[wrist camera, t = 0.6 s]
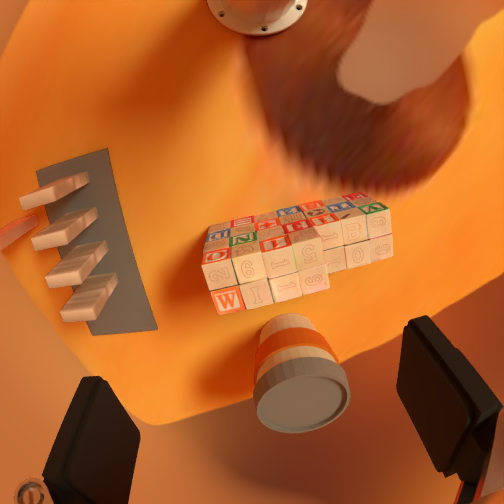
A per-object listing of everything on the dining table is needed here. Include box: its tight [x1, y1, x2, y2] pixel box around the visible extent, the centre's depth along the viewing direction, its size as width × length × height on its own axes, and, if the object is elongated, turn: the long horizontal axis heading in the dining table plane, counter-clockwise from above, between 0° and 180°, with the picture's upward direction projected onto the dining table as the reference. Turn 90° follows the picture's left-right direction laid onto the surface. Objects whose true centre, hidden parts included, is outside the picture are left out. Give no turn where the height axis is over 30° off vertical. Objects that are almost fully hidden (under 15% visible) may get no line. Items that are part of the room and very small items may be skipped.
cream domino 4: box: [60, 272, 119, 323], centre depth 40 cm, size 2×5×10 cm, turn 99°
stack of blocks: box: [201, 192, 393, 315], centre depth 38 cm, size 21×6×12 cm, turn 103°
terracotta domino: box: [0, 214, 38, 251], centre depth 36 cm, size 2×5×10 cm, turn 98°
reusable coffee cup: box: [253, 313, 350, 433], centre depth 44 cm, size 12×13×15 cm
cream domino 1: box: [19, 171, 90, 211], centre depth 34 cm, size 2×5×10 cm, turn 98°
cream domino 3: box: [45, 240, 108, 289], centre depth 38 cm, size 2×5×10 cm, turn 98°
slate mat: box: [36, 148, 158, 335], centre depth 43 cm, size 28×12×1 cm, turn 8°
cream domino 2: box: [31, 206, 99, 251], centre depth 36 cm, size 2×5×10 cm, turn 98°
